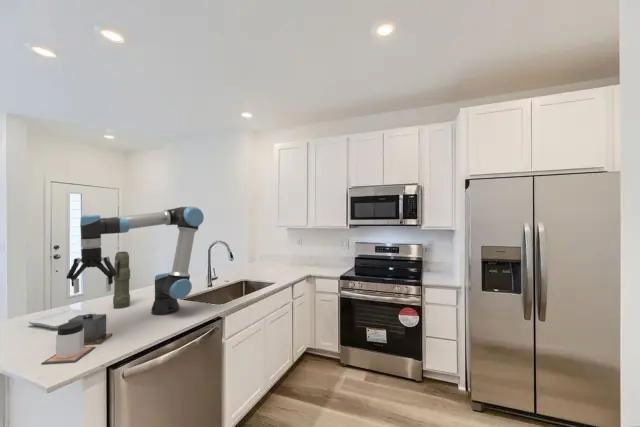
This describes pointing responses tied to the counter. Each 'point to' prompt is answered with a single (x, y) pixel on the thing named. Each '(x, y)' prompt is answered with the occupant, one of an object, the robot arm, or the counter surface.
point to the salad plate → (58, 318)
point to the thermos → (121, 281)
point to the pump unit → (93, 328)
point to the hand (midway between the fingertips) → (92, 292)
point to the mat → (68, 360)
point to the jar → (69, 340)
